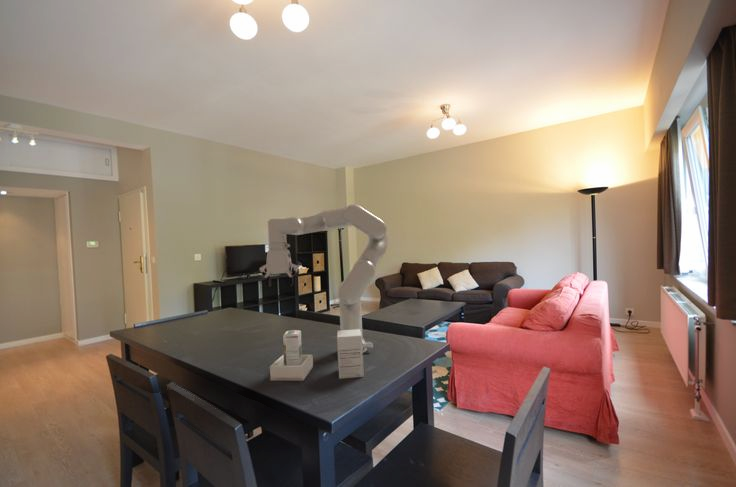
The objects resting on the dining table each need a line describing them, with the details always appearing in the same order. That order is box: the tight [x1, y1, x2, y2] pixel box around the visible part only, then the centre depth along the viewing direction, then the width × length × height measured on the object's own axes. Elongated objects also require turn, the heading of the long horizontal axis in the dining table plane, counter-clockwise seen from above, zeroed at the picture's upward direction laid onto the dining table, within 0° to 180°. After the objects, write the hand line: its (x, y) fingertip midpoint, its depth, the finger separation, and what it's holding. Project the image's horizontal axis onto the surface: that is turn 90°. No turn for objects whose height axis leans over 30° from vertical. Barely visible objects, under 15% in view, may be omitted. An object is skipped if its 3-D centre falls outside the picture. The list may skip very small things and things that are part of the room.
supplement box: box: [336, 329, 365, 380], centre depth 121 cm, size 9×9×15 cm
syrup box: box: [282, 329, 303, 366], centre depth 123 cm, size 6×6×14 cm
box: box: [269, 354, 314, 382], centre depth 123 cm, size 12×12×5 cm
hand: (279, 286), depth 143 cm, fingers open, 9 cm apart
